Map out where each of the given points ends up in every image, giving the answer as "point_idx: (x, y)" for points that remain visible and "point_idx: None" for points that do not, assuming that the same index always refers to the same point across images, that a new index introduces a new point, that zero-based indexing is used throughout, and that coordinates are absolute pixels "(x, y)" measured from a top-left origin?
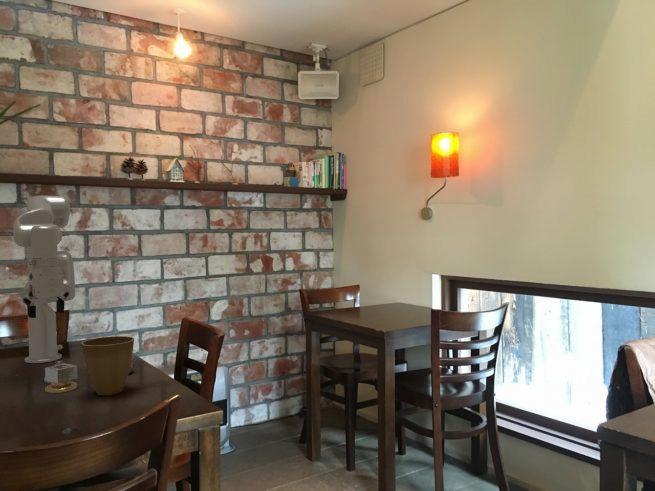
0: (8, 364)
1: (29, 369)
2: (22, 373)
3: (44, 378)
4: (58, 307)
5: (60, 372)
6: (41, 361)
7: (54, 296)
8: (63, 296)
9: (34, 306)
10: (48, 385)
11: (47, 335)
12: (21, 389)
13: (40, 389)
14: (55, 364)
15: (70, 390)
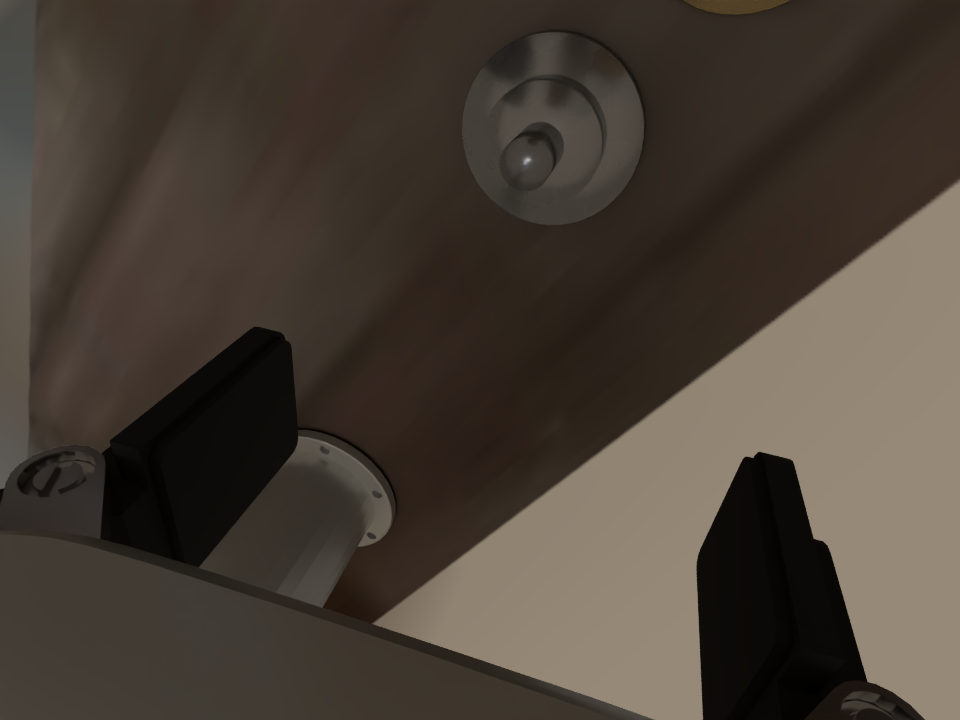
0: (441, 558)
1: (460, 439)
2: (523, 423)
3: (613, 197)
4: (251, 455)
5: None
6: (365, 462)
7: (258, 599)
8: (15, 528)
9: (826, 638)
10: (767, 4)
11: (265, 546)
12: (807, 189)
13: (791, 52)
14: (552, 170)
15: None
